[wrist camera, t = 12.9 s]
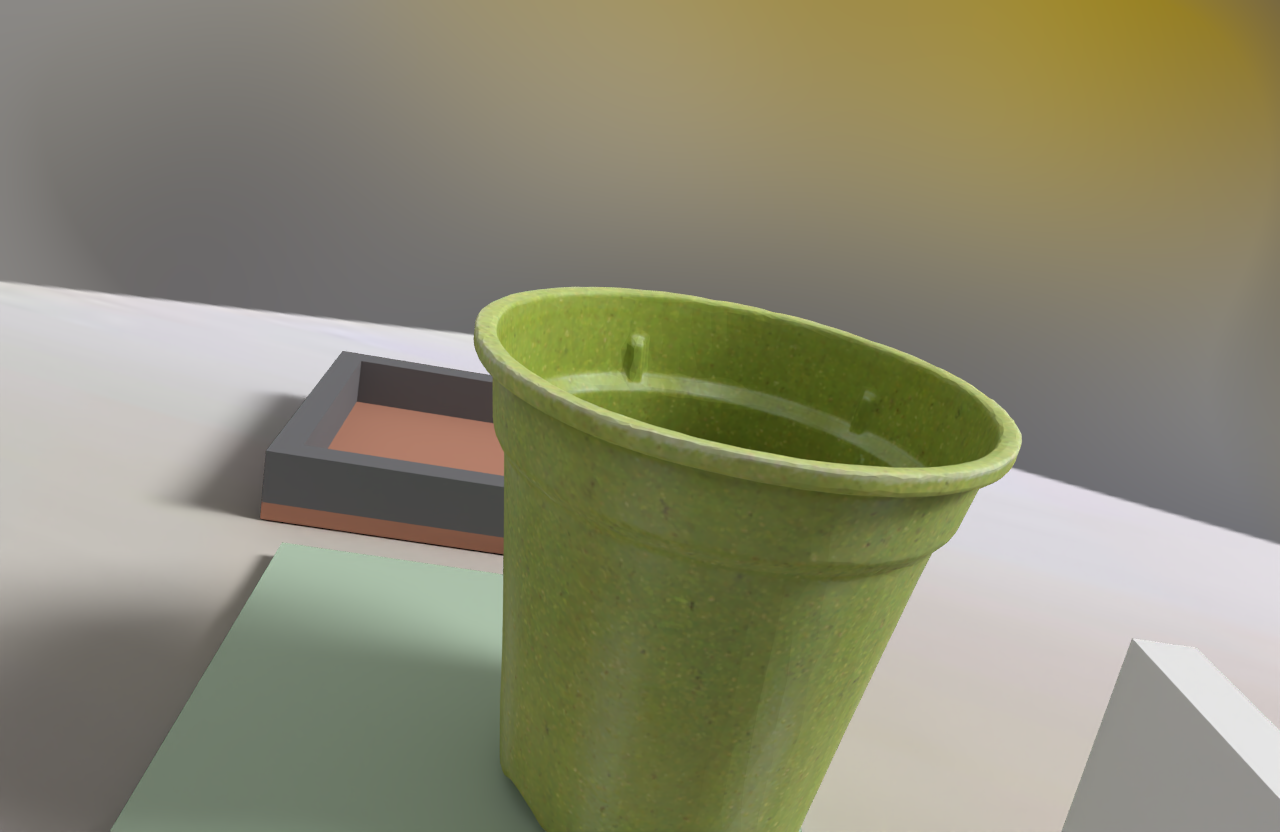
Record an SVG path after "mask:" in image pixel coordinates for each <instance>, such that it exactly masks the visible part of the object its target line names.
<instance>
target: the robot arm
mask: <svg viewBox="0 0 1280 832" xmlns="http://www.w3.org/2000/svg"><path fill="white" fill-rule="evenodd" d="M1062 832H1280V730H1279V729H1278V728H1277V727H1276V726H1275V725H1274V724H1273V723H1272V722H1271V721H1270V720H1269V719H1268V718H1267V717H1266V716H1265V715H1264V714H1263V713H1262V712H1261V711H1260V710H1259V709H1258V708H1257V707H1255V706H1254V705H1253V704H1252V703H1251V702H1250V701H1249V700H1248V699H1247V698H1246V697H1245V696H1244V695H1243V694H1242V693H1241V692H1240V691H1239V690H1238V689H1237V688H1236V687H1235V686H1234V685H1233V684H1232V683H1231V682H1230V681H1229V680H1228V679H1227V678H1226V677H1225V676H1224V675H1223V674H1222V673H1221V672H1220V671H1219V670H1218V669H1217V668H1216V667H1215V666H1214V665H1213V664H1212V663H1211V662H1210V661H1209V660H1208V659H1207V658H1206V657H1205V656H1204V655H1203V654H1202V653H1201V652H1200V651H1199V650H1198V649H1197V648H1195V647H1188V646H1181V645H1174V644H1168V643H1161V642H1154V641H1147V640H1140V639H1133V638H1132V640H1131V643H1130V646H1129V648H1128V651H1127V654H1126V657H1125V659H1124V662H1123V665H1122V668H1121V670H1120V673H1119V676H1118V678H1117V681H1116V684H1115V687H1114V689H1113V692H1112V695H1111V698H1110V700H1109V703H1108V706H1107V709H1106V711H1105V714H1104V717H1103V719H1102V722H1101V725H1100V728H1099V730H1098V733H1097V736H1096V739H1095V741H1094V744H1093V747H1092V750H1091V752H1090V755H1089V758H1088V761H1087V763H1086V766H1085V769H1084V771H1083V774H1082V777H1081V780H1080V782H1079V785H1078V788H1077V791H1076V793H1075V796H1074V799H1073V802H1072V804H1071V807H1070V810H1069V812H1068V815H1067V818H1066V821H1065V823H1064V826H1063V829H1062Z"/></svg>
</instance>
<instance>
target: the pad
mask: <svg viewBox="0 0 1280 832" xmlns="http://www.w3.org/2000/svg"><path fill="white" fill-rule="evenodd" d="M502 627H503V574H497V573H490V572H483V571H476V570H469V569H462V568H455V567H448V566H441V565H434V564H427V563H420V562H413V561H407V560H400V559H393V558H386V557H379V556H372V555H365V554H358V553H351V552H344V551H337V550H330V549H323V548H316V547H310V546H303V545H296V544H289V543H282V544H281V545H280V547H279V549H278V550H277V552H276V554H275V555H274V557H273V559H272V560H271V562H270V564H269V565H268V567H267V569H266V570H265V572H264V574H263V575H262V577H261V579H260V580H259V582H258V584H257V586H256V587H255V589H254V591H253V592H252V594H251V596H250V597H249V599H248V601H247V602H246V604H245V606H244V607H243V609H242V611H241V612H240V614H239V616H238V617H237V619H236V621H235V622H234V624H233V626H232V627H231V629H230V631H229V632H228V634H227V636H226V637H225V639H224V641H223V643H222V644H221V646H220V648H219V649H218V651H217V653H216V654H215V656H214V658H213V659H212V661H211V663H210V664H209V666H208V668H207V669H206V671H205V673H204V674H203V676H202V678H201V679H200V681H199V683H198V684H197V686H196V688H195V689H194V691H193V693H192V694H191V696H190V698H189V700H188V701H187V703H186V705H185V706H184V708H183V710H182V711H181V713H180V715H179V716H178V718H177V720H176V721H175V723H174V725H173V726H172V728H171V730H170V731H169V733H168V735H167V736H166V738H165V740H164V741H163V743H162V745H161V746H160V748H159V750H158V751H157V753H156V755H155V756H154V758H153V760H152V762H151V763H150V765H149V767H148V768H147V770H146V772H145V773H144V775H143V777H142V778H141V780H140V782H139V783H138V785H137V787H136V788H135V790H134V792H133V793H132V795H131V797H130V798H129V800H128V802H127V803H126V805H125V807H124V808H123V810H122V812H121V813H120V815H119V817H118V819H117V820H116V822H115V824H114V825H113V827H112V829H111V830H110V832H546V831H545V830H544V829H543V828H542V827H541V826H540V824H539V823H538V821H537V819H536V817H535V816H534V814H533V812H532V810H531V809H530V807H529V806H528V804H527V802H526V801H525V799H524V798H523V796H522V795H521V793H520V792H519V790H518V789H517V787H516V786H515V785H514V783H513V782H512V780H511V779H510V778H508V777H506V776H505V775H504V773H503V771H502V767H501V764H500V690H501V665H502ZM799 832H802V830H801V828H800V830H799Z"/></svg>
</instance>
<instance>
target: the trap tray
mask: <svg viewBox="0 0 1280 832" xmlns="http://www.w3.org/2000/svg"><path fill="white" fill-rule="evenodd" d="M260 519H266V520H273V521H279V522H286V523H293V524H300V525H307V526H314V527H320V528H327V529H334V530H341V531H348V532H355V533H361V534H368V535H375V536H382V537H389V538H396V539H402V540H409V541H416V542H423V543H430V544H437V545H443V546H450V547H457V548H464V549H471V550H478V551H484V552H491V553H498V554H504V451H503V450H502V447H501V445H500V443H499V441H498V438H497V436H496V433H495V429H494V423H493V377H492V376H491V375H486V374H480V373H474V372H468V371H462V370H456V369H450V368H444V367H437V366H431V365H425V364H419V363H413V362H407V361H401V360H395V359H388V358H382V357H376V356H370V355H364V354H358V353H352V352H346V351H342V353H341V354H340V355H339V357H338V358H337V359H336V360H335V362H334V363H333V364H332V366H331V367H330V368H329V370H328V371H327V372H326V373H325V375H324V376H323V377H322V379H321V380H320V381H319V383H318V384H317V385H316V386H315V388H314V389H313V390H312V392H311V393H310V394H309V396H308V397H307V398H306V399H305V401H304V402H303V403H302V405H301V406H300V407H299V409H298V410H297V411H296V412H295V414H294V415H293V416H292V418H291V419H290V420H289V422H288V423H287V424H286V425H285V427H284V428H283V429H282V431H281V432H280V433H279V435H278V436H277V437H276V438H275V440H274V441H273V442H272V444H271V445H270V446H269V448H268V449H267V450H266V457H265V469H264V480H263V492H262V503H261V515H260Z"/></svg>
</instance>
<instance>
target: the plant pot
mask: <svg viewBox="0 0 1280 832" xmlns="http://www.w3.org/2000/svg"><path fill="white" fill-rule="evenodd" d="M474 346H475V350H476V352H477V355H478V357H479V359H480V361H481V363H482V364H483V366H484V367H485V369H486V370H487V371H488V372H489V373H490V375H491V376H492V377H493V423H494V429H495V433H496V436H497V438H498V441H499V443H500V445H501V447H502V450H503V451H504V557H503V627H502V665H501V690H500V764H501V767H502V771H503V773H504V775H505V776H506V777H508V778H510V779H511V780H512V782H513V783H514V785H515V786H516V787H517V789H518V790H519V792H520V793H521V795H522V796H523V798H524V799H525V801H526V802H527V804H528V806H529V807H530V809H531V810H532V812H533V814H534V816H535V817H536V819H537V821H538V823H539V824H540V826H541V827H542V828H543V829H544V830H545V831H546V832H799V830H800V828H801V825H802V823H803V821H804V819H805V816H806V814H807V812H808V810H809V808H810V806H811V803H812V801H813V799H814V797H815V795H816V793H817V791H818V789H819V787H820V785H821V782H822V780H823V778H824V776H825V774H826V772H827V769H828V767H829V765H830V763H831V761H832V758H833V756H834V754H835V752H836V750H837V748H838V746H839V743H840V741H841V739H842V737H843V735H844V733H845V731H846V729H847V726H848V724H849V722H850V720H851V718H852V716H853V714H854V712H855V710H856V708H857V706H858V704H859V702H860V700H861V698H862V696H863V693H864V691H865V689H866V687H867V685H868V683H869V681H870V679H871V677H872V675H873V673H874V670H875V668H876V666H877V664H878V662H879V660H880V658H881V656H882V654H883V652H884V650H885V648H886V645H887V643H888V641H889V639H890V637H891V635H892V633H893V631H894V629H895V627H896V625H897V623H898V621H899V619H900V617H901V614H902V612H903V610H904V608H905V606H906V604H907V602H908V600H909V598H910V596H911V594H912V592H913V590H914V588H915V586H916V584H917V581H918V579H919V577H920V576H921V574H922V572H923V570H924V568H925V566H926V564H927V562H928V560H929V558H930V556H931V554H932V553H933V552H934V551H936V550H937V549H939V548H940V547H942V546H943V545H944V544H946V543H947V542H948V541H949V540H950V539H951V538H952V536H953V535H954V534H955V533H956V531H957V530H958V528H959V526H960V524H961V522H962V520H963V518H964V516H965V515H966V513H967V511H968V509H969V507H970V505H971V503H972V501H973V499H974V498H975V496H976V494H977V492H978V490H979V489H980V488H983V487H985V486H987V485H990V484H992V483H994V482H996V481H998V480H999V479H1001V478H1002V477H1003V476H1004V475H1005V474H1006V473H1007V472H1009V470H1010V469H1011V468H1012V466H1013V464H1014V463H1015V460H1016V458H1017V455H1018V452H1019V449H1020V446H1021V442H1022V440H1021V433H1020V431H1019V429H1018V427H1017V426H1016V424H1015V423H1014V420H1013V419H1011V418H1010V416H1009V415H1008V413H1007V412H1006V411H1005V410H1004V409H1002V407H1000V406H999V405H998V404H997V403H996V402H995V401H994V400H992V399H990V398H988V397H987V396H986V395H984V394H983V393H982V392H980V391H979V390H977V389H976V388H975V387H974V386H972V385H971V384H969V383H967V382H965V381H964V380H962V379H960V378H958V377H956V376H955V375H953V374H951V373H949V372H947V371H945V370H943V369H940V368H938V367H936V366H933V365H931V364H929V363H927V362H925V361H923V360H921V359H918V358H916V357H914V356H912V355H909V354H907V353H904V352H901V351H899V350H896V349H894V348H891V347H888V346H885V345H882V344H879V343H876V342H872V341H869V340H867V339H864V338H861V337H859V336H856V335H853V334H851V333H848V332H845V331H842V330H839V329H836V328H832V327H829V326H825V325H822V324H819V323H816V322H813V321H809V320H806V319H802V318H798V317H794V316H790V315H786V314H780V313H774V312H770V311H767V310H764V309H761V308H756V307H752V306H746V305H742V304H737V303H733V302H725V301H715V300H710V299H706V298H701V297H696V296H691V295H683V294H675V293H670V292H661V291H647V290H637V289H627V288H611V287H565V288H550V289H539V290H534V291H526V292H522V293H516V294H511V295H508V296H506V297H503V298H502V299H499V300H496V301H494V302H492V303H490V304H489V305H487V306H486V307H485V308H483V309H482V310H481V312H480V313H479V315H478V316H477V318H476V321H475V330H474Z"/></svg>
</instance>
